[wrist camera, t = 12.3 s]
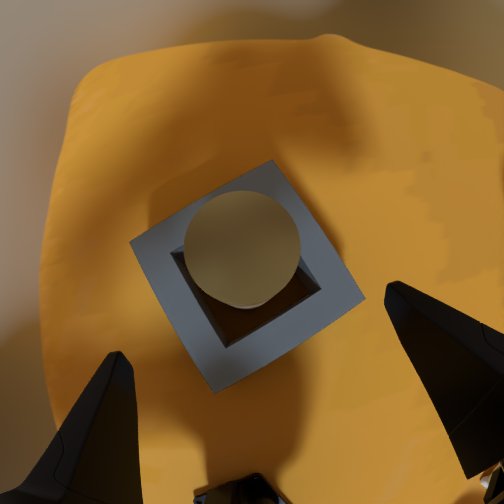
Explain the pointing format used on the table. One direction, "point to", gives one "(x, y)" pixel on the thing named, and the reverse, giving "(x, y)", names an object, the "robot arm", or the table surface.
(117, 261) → the table surface
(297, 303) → the socket block
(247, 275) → the walnut pin
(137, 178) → the table surface
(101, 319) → the table surface
